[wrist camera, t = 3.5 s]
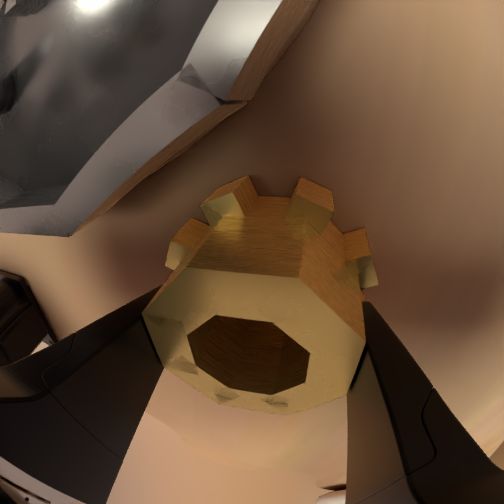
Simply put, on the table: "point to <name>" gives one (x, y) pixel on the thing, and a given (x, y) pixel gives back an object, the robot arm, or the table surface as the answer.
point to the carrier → (120, 94)
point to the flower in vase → (332, 498)
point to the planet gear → (264, 300)
